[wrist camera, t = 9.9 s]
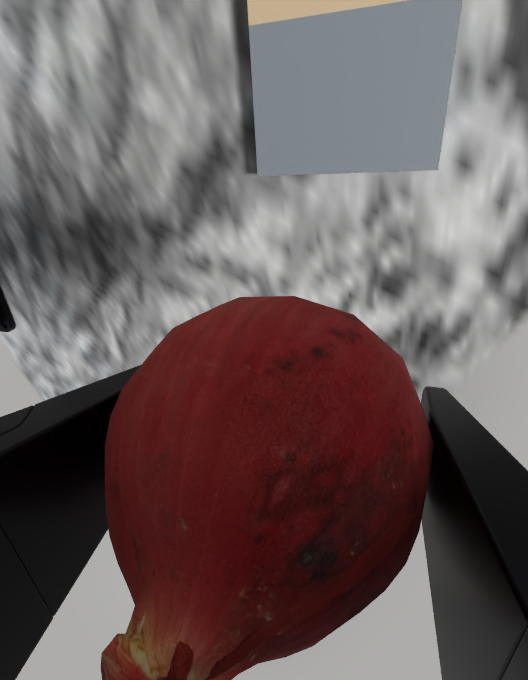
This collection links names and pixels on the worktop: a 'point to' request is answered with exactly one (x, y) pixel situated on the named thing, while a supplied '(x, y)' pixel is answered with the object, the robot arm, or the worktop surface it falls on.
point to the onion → (259, 486)
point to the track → (350, 83)
